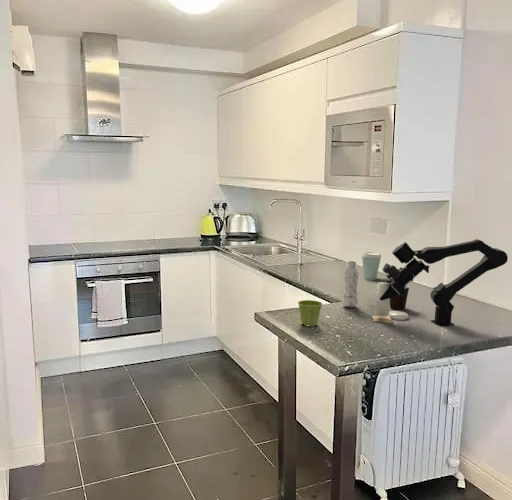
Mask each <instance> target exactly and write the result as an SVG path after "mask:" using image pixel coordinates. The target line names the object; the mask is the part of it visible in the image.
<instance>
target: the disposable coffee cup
mask: <svg viewBox="0 0 512 500" xmlns="http://www.w3.org/2000/svg"><path fill="white" fill-rule="evenodd" d="M381 257H382V255H381V253H380V252H376V251H368V250H366V251H365V250H364V251H362V254H361V261H362V271H363V277H364V279H365V280H367V281H368V280H369V281H375V280H376V279H377V277H378V274H379V273H378V272H379V268H380V263H381V259H382V258H381Z"/></svg>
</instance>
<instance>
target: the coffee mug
mask: <svg viewBox="0 0 512 500" xmlns="http://www.w3.org/2000/svg"><path fill="white" fill-rule="evenodd" d="M405 289H406V294H405V295H404V296H403V297H402V296H401V295H400V296H396V297H392V298H390V303H389V309H391V310H392V311H405V310H406V305H407V300H408V296H409V289H410V286H409V285H408V284H407V285H405Z"/></svg>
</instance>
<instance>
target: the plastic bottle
mask: <svg viewBox="0 0 512 500" xmlns="http://www.w3.org/2000/svg"><path fill="white" fill-rule="evenodd" d="M359 275H360V274H359V271H358V269H357V262H356V261H347V268H346V269H345V271H344V273H343V277H344V278H343V280H344V290H343V291H344V292H343V297H342V305H343V306H344V307H345V308H356V306H357V305H358V294H357V293H358V292H357V291H358V288H357V287H358V281H359Z"/></svg>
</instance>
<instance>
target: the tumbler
mask: <svg viewBox="0 0 512 500" xmlns="http://www.w3.org/2000/svg"><path fill="white" fill-rule="evenodd" d="M388 284H390V283H386V281H385V282H383V281H380V282H377V285H376V286H377V288H376V289H377V290H376V304H375V305H376V309H375V314H376V316H387V317H388V315H389V312H390V298H389V299H385V300H382V301H381V300H380V297H381V296H382V295H383V294H384V293H385V291H386V290H387V289H388ZM390 285H391V284H390Z"/></svg>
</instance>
